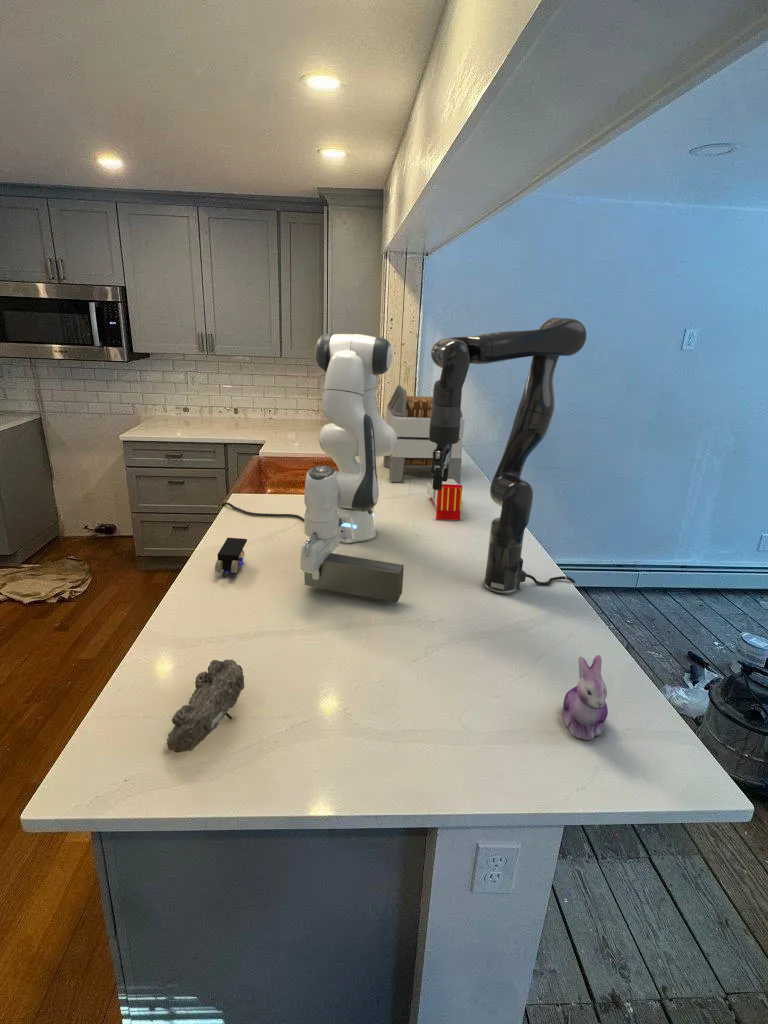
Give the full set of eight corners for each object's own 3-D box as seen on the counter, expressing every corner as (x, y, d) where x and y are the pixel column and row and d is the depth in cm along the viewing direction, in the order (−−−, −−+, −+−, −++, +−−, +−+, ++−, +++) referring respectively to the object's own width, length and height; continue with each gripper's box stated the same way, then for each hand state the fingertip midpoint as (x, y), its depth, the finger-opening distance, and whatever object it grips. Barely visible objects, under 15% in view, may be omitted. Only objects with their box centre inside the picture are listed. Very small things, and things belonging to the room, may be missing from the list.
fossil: (192, 660, 117) (244, 628, 112) (224, 691, 120) (276, 661, 115) (142, 746, 98) (202, 712, 93) (182, 779, 101) (242, 748, 96)
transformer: (382, 463, 289) (386, 382, 275) (445, 464, 293) (451, 384, 279) (390, 482, 257) (394, 392, 243) (460, 483, 261) (468, 394, 247)
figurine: (586, 749, 104) (600, 681, 99) (547, 715, 112) (558, 650, 107) (622, 734, 108) (637, 668, 103) (582, 702, 117) (594, 639, 112)
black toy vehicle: (238, 584, 162) (249, 557, 175) (236, 562, 158) (247, 536, 172) (215, 584, 161) (227, 556, 175) (212, 561, 158) (225, 535, 171)
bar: (304, 585, 156) (304, 557, 153) (311, 576, 161) (311, 549, 158) (397, 602, 149) (398, 573, 146) (402, 593, 154) (403, 564, 151)
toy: (454, 474, 240) (466, 486, 210) (452, 505, 242) (464, 521, 213) (426, 473, 239) (434, 485, 210) (424, 504, 242) (432, 520, 212)
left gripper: (317, 543, 141) (317, 592, 146) (345, 515, 160) (344, 559, 165) (293, 539, 143) (294, 588, 148) (324, 512, 161) (324, 556, 166)
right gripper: (455, 429, 133) (449, 495, 139) (464, 419, 146) (458, 479, 152) (424, 426, 135) (419, 491, 141) (435, 416, 148) (431, 476, 154)
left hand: (321, 573), depth 156 cm, fingers closed on bar, 5 cm apart
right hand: (440, 485), depth 146 cm, fingers open, 8 cm apart
